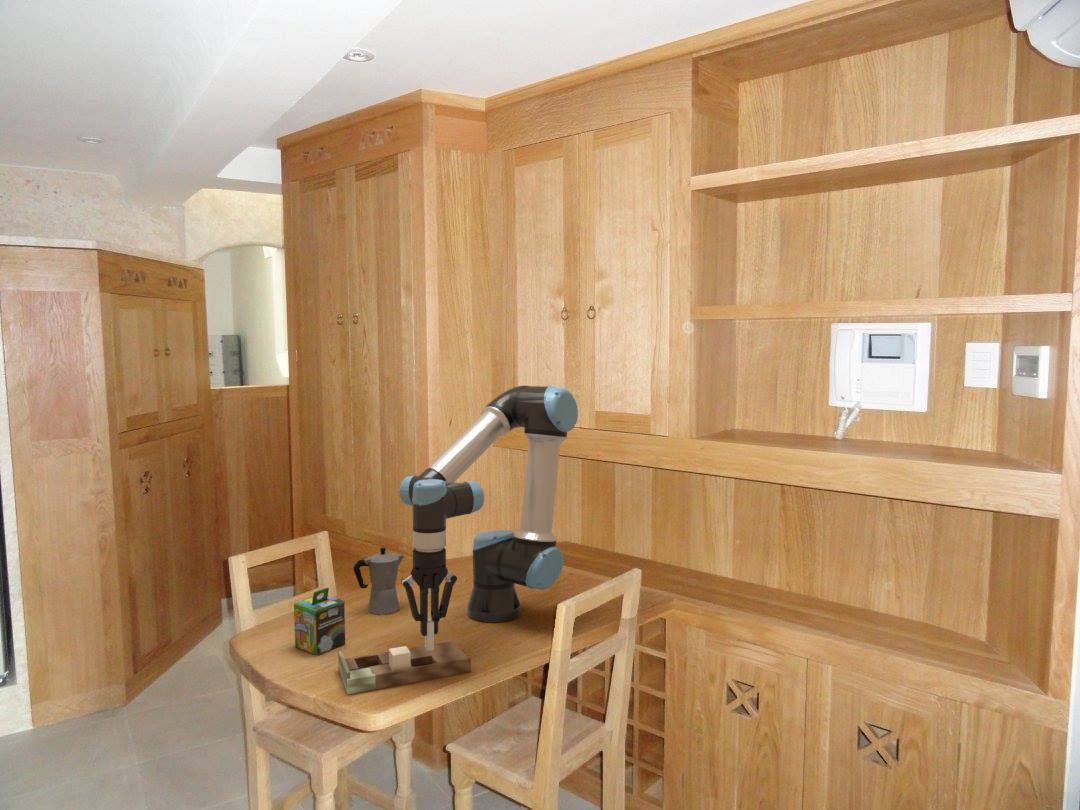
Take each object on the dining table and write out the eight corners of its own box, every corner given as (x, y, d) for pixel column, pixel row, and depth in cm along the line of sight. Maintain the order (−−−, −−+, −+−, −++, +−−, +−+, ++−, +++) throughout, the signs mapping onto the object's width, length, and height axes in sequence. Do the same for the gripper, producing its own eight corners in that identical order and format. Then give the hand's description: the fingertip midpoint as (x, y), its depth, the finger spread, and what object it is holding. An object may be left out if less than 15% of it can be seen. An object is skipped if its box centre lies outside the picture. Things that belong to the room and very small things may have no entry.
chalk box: (323, 635, 194) (322, 580, 193) (346, 644, 189) (345, 587, 187) (293, 647, 186) (291, 589, 185) (316, 656, 181) (315, 597, 180)
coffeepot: (397, 600, 221) (396, 540, 219) (412, 609, 213) (411, 547, 212) (348, 611, 212) (346, 549, 210) (361, 621, 204) (360, 556, 203)
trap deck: (454, 650, 185) (453, 633, 184) (470, 671, 173) (470, 653, 172) (338, 670, 173) (338, 651, 173) (347, 694, 162) (347, 674, 161)
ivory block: (406, 662, 172) (406, 646, 172) (410, 669, 169) (410, 652, 168) (389, 665, 171) (388, 648, 170) (393, 672, 167) (392, 655, 167)
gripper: (451, 541, 176) (451, 638, 178) (397, 546, 171) (397, 646, 173) (461, 549, 170) (461, 650, 171) (405, 554, 164) (405, 658, 166)
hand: (429, 648), depth 172 cm, fingers closed
